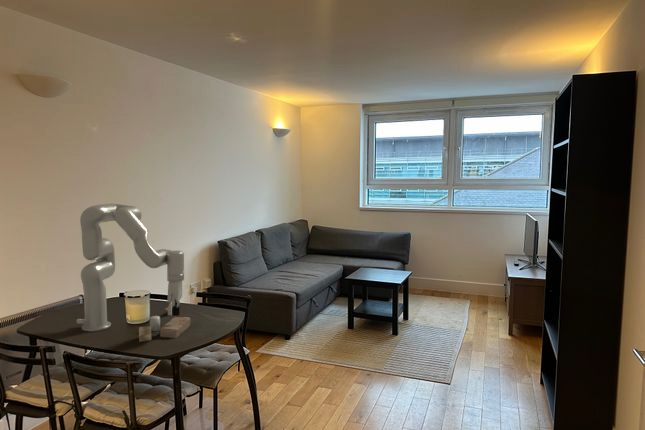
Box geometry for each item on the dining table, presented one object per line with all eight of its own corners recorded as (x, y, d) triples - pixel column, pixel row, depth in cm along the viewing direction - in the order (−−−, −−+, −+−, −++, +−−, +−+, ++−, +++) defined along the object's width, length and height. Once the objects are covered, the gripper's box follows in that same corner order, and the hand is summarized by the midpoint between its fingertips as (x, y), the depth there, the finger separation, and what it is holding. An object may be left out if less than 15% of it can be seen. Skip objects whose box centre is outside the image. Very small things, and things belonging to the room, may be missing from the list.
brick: (176, 338, 202) (176, 328, 202) (159, 337, 203) (158, 327, 203) (191, 326, 219) (191, 317, 218) (174, 325, 220) (174, 316, 219)
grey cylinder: (148, 331, 210) (148, 319, 210) (151, 328, 215) (151, 315, 214) (158, 331, 211) (158, 318, 210) (161, 327, 215) (161, 315, 215)
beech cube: (139, 341, 198) (138, 330, 197) (139, 337, 202) (139, 327, 202) (151, 340, 199) (150, 329, 199) (151, 336, 204) (151, 325, 204)
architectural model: (165, 315, 235) (164, 302, 234) (171, 311, 241) (171, 298, 241) (171, 316, 234) (170, 302, 233) (177, 312, 241) (177, 298, 240)
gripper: (171, 273, 216) (171, 310, 217) (163, 281, 201) (163, 320, 202) (187, 273, 216) (187, 310, 218) (180, 281, 201) (180, 320, 203)
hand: (175, 315), depth 210 cm, fingers closed
